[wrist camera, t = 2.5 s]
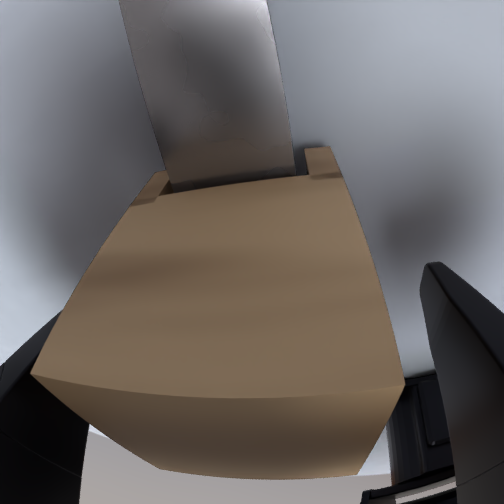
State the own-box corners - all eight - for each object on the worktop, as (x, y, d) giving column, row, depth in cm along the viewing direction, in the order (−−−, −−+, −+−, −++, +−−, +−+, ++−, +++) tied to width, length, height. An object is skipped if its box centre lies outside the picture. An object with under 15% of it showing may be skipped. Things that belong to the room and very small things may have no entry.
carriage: (336, 282, 11) (356, 474, 6) (200, 293, 12) (159, 469, 7) (330, 146, 8) (405, 384, 3) (155, 172, 9) (29, 373, 4)
